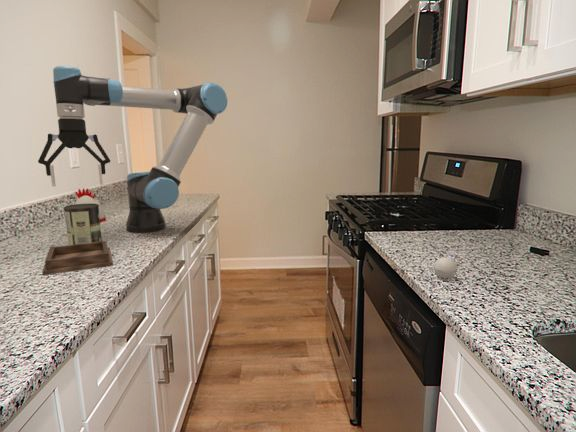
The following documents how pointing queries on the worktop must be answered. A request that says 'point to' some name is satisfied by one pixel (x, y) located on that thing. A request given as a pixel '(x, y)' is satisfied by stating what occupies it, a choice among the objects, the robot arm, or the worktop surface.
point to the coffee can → (83, 223)
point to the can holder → (77, 257)
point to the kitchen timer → (90, 202)
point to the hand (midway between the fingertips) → (78, 185)
